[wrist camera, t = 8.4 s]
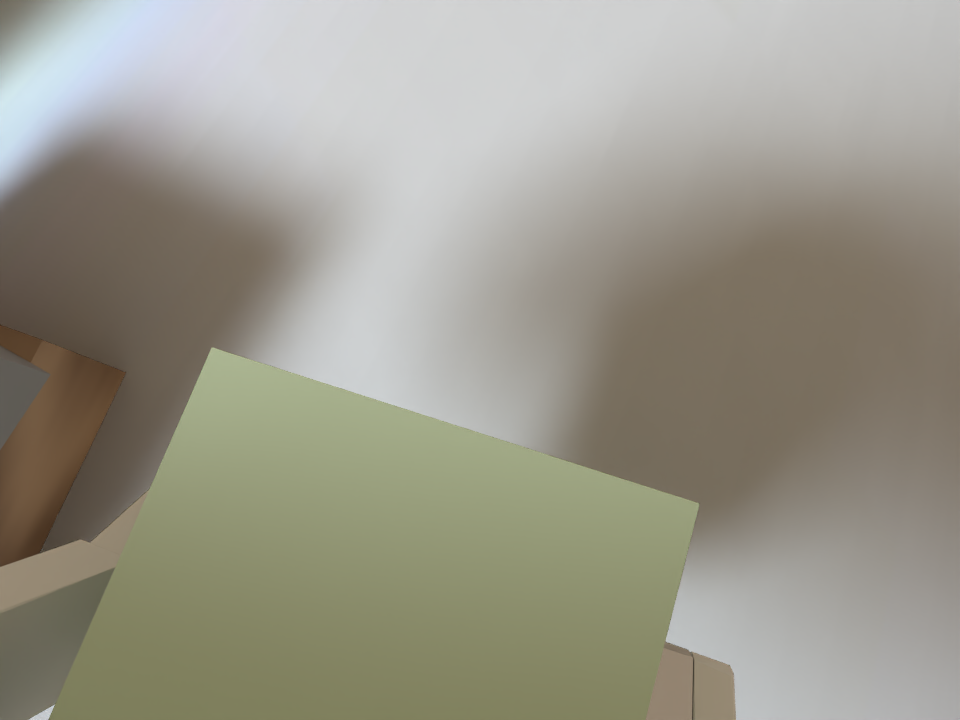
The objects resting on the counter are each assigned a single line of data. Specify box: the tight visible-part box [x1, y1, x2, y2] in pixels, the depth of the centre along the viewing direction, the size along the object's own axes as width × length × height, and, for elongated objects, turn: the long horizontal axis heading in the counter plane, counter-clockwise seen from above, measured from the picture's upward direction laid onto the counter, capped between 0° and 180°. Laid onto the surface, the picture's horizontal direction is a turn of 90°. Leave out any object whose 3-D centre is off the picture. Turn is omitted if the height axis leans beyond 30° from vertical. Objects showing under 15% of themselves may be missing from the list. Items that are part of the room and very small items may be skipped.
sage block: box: [49, 347, 700, 720], centre depth 10 cm, size 5×5×8 cm
